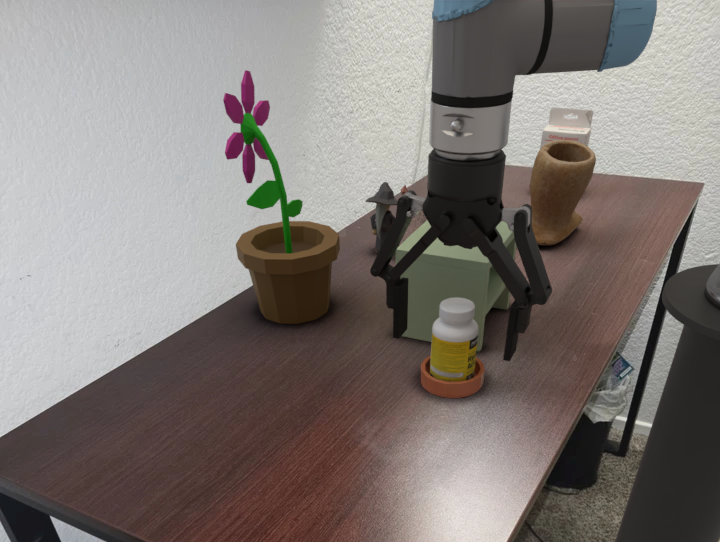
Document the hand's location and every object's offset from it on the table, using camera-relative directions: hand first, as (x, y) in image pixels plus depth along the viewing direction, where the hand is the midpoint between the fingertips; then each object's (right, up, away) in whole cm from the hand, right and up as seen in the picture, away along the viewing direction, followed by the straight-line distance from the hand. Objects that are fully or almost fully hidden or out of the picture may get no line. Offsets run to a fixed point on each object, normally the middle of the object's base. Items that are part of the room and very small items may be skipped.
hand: (453, 344), depth 78 cm
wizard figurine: (-6, +22, +34) cm, 41 cm away
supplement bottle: (0, -4, +3) cm, 5 cm away
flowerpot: (-21, +9, +20) cm, 30 cm away
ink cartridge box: (+29, +42, +55) cm, 74 cm away
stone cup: (+22, +27, +38) cm, 51 cm away
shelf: (+2, +6, +15) cm, 17 cm away
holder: (0, -4, +3) cm, 5 cm away
